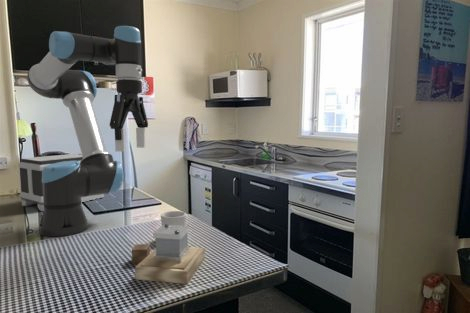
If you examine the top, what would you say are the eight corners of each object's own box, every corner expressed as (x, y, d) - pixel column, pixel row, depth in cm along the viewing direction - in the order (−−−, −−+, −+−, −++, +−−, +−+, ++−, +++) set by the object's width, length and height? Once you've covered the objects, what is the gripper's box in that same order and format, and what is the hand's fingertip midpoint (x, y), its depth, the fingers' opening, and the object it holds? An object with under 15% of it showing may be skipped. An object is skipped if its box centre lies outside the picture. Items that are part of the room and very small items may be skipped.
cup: (163, 231, 119) (163, 208, 118) (187, 231, 120) (187, 208, 119) (159, 243, 109) (159, 217, 108) (185, 242, 109) (185, 217, 108)
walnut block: (132, 264, 93) (131, 249, 93) (135, 258, 97) (134, 244, 96) (147, 264, 93) (147, 249, 93) (149, 258, 97) (149, 244, 97)
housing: (180, 262, 86) (180, 233, 85) (153, 260, 87) (153, 231, 86) (189, 251, 93) (189, 224, 92) (164, 249, 94) (164, 223, 93)
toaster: (112, 196, 172) (110, 154, 170) (41, 212, 144) (38, 161, 142) (90, 192, 183) (88, 152, 180) (20, 206, 154) (16, 158, 152)
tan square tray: (135, 279, 84) (135, 266, 84) (160, 255, 99) (159, 243, 98) (187, 283, 82) (187, 270, 81) (204, 258, 96) (204, 247, 96)
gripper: (119, 74, 94) (122, 153, 96) (157, 83, 119) (158, 146, 121) (94, 75, 96) (97, 153, 98) (136, 84, 120) (138, 145, 122)
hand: (131, 149), depth 109 cm, fingers open, 13 cm apart
